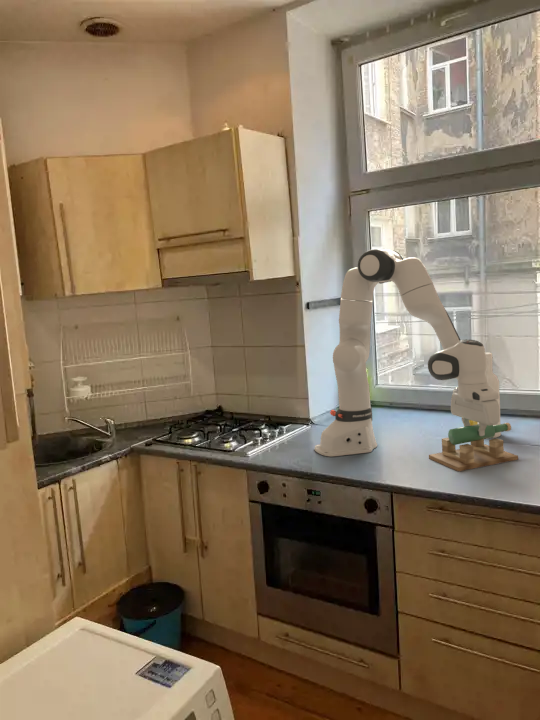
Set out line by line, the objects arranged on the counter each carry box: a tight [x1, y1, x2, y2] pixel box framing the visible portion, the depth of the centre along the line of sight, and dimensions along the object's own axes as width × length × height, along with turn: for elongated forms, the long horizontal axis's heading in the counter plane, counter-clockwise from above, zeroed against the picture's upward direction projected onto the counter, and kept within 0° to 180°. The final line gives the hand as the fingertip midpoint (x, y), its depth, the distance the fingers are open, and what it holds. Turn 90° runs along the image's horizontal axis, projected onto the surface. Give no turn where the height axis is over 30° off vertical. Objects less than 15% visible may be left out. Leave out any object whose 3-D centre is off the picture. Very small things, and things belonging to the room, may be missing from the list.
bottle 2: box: [447, 422, 512, 446], centre depth 198 cm, size 21×5×5 cm, turn 109°
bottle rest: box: [428, 437, 519, 472], centre depth 197 cm, size 22×16×6 cm
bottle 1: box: [478, 352, 502, 439], centre depth 221 cm, size 8×8×30 cm
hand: (474, 433), depth 197 cm, fingers closed on bottle 2, 5 cm apart
